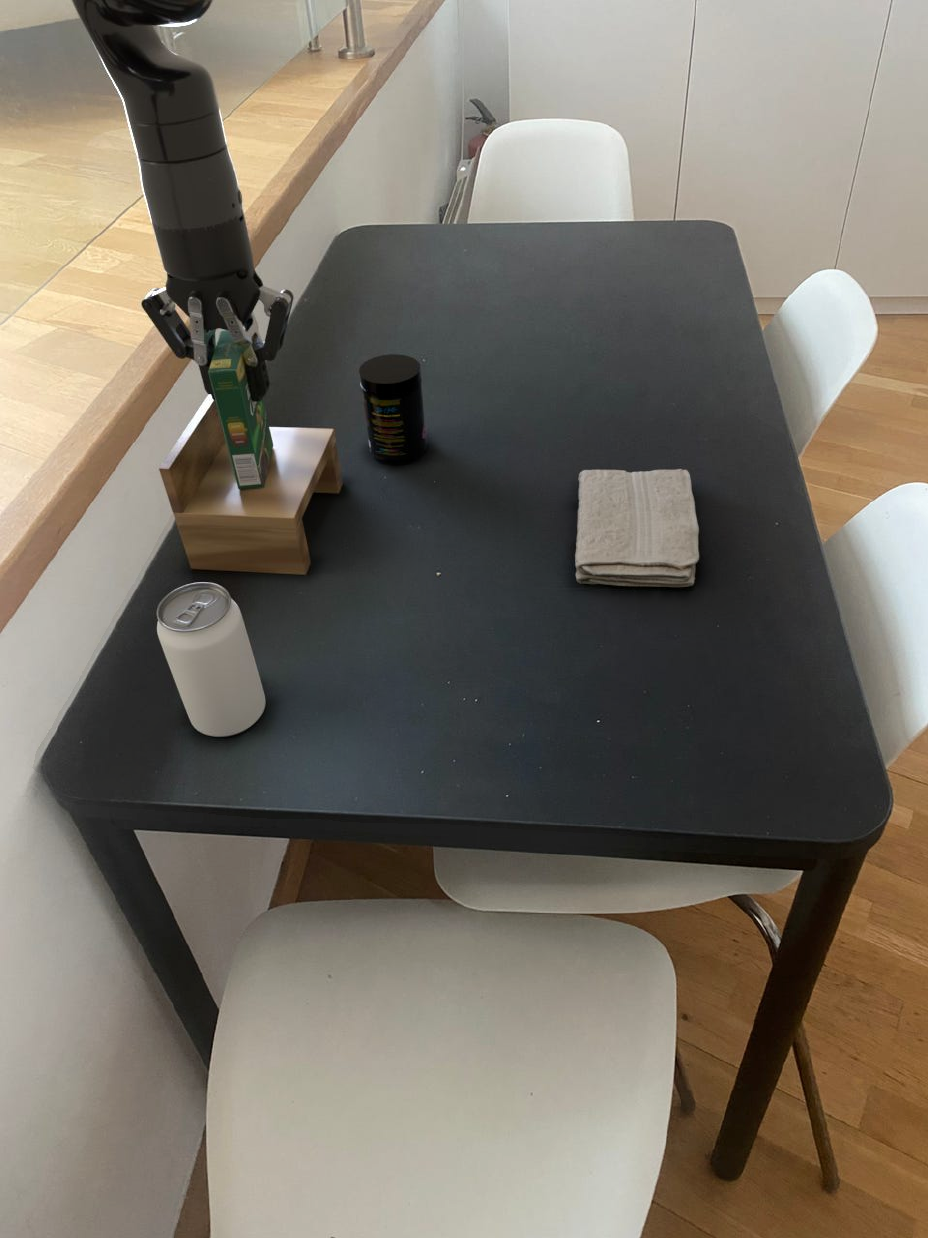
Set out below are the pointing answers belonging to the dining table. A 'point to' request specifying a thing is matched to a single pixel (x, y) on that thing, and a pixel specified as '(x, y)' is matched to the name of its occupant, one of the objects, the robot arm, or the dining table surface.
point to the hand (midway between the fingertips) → (239, 396)
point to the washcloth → (636, 528)
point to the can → (210, 659)
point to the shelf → (247, 496)
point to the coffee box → (240, 415)
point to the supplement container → (393, 408)
